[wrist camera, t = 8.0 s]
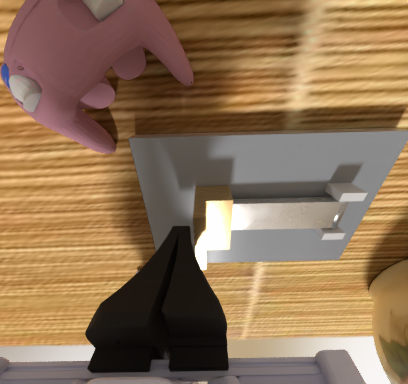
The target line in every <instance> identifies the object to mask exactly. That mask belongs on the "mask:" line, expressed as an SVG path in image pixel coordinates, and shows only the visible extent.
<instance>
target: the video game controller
mask: <svg viewBox="0 0 408 384" xmlns="http://www.w3.org/2000/svg"><path fill="white" fill-rule="evenodd" d="M144 48H146V49H148V50H149V51H150V52H152V53H153V54H154V55H155V56H156V57H157V58H158V59H159V60H160V61H161V62H162V63H163V64H164V66H165V67H166V68H167V69H168V70H169V71H170V72H171V74H172V75H173V76H174V77H175V78H176V79H177V80H178V81H180V82H181V83H182V84H184V85H186V86H191V85H193V82H194V76H193V71H192V68H191V65H190V63H189V60H188V58H187V56H186V54H185V51H184V49H183V47H182V45H181V43H180V41H179V39H178V37H177V35H176V33H175V31H174V29H173V27H172V26H171V24H170V23H169V21H168V19H167V18H166V16H165V15H164V13H163V11H162V10H161V9H160V7H159V6H158V4H157V3H156V1H155V0H26V1H25V2H24V4H23V5H22V7H21V8H20V9H19V11H18V13H17V15H16V17H15V19H14V21H13V23H12V25H11V27H10V30H9V34H8V37H7V41H6V45H5V49H4V62H3V63H2V66H1V69H0V74H1V78H2V80H3V82H4V84H5V86H6V87H7V89H8V90H9V92H10V93H11V95H12V96H13V98H14V100H15V101H16V103H17V104H18V105H19V106H20V107H21V108H22V109H23V110H24V111H25V112H26V113H28V114H29V115H30V116H31V117H32V118H34V119H35V120H36V121H37V122H39V123H41V124H42V125H44V126H46V127H48V128H50V129H52V130H54V131H56V132H58V133H60V134H62V135H64V136H66V137H68V138H70V139H72V140H74V141H76V142H78V143H80V144H82V145H84V146H86V147H88V148H90V149H92V150H95V151H97V152H101V153H106V154H110V153H113V152H115V150H116V145H115V142H114V140H113V139H112V137H111V136H110V135H109V133H108V132H107V131H106V130H105V129H104V128H103V127H102V126H100V125H99V124H98V123H97V122H96V121H95V120H94V119H93V118H91V117H90V116H89V115H88V114H86V113H85V112H84V111H83V110H82V109H84V108H95V109H100V108H105V107H107V106H109V105H110V104H111V103H112V102H113V101H114V99H115V91H114V90H113V88H112V86H111V84H110V83H109V81H108V79H107V78H106V76H105V74H106V72H107V71H108V70H109V69H110V67H112V69H113V71H114V72H115V73H116V75H117V76H119V77H120V78H122V79H125V80H131V79H134V78H136V77H138V76H139V75H141V74H142V73H143V71H144V70H145V67H146V58H145V54H144Z"/></svg>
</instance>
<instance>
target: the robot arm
mask: <svg viewBox="0 0 408 384" xmlns="http://www.w3.org/2000/svg"><path fill="white" fill-rule="evenodd" d="M226 333H227V322H226V318H225V315H224V312H223V309H222V307H221V305H220V302H219V300H218V298H217V296H216V295H215V293H214V292H213V290H212V289H211V287H210V285H209V283H208V282H207V280H206V278H205V276H204V274H203V272H202V270H201V268H200V265H199V263H198V261H197V258H196V255H195V252H194V249H193V246H192V242H191V231H190V226H173V227H172V228H171V230H170V232H169V234H168V235H167V237H166V238H165V240H164V241H163V243H162V244H161V246H160V247H159V249H158V250H157V251H156V252H155V254H154V255H153V256H152V257H151V259H150V260H149V261H148V262H147V263H146V264H145V265H144V267H143V268H142V269H141V270H139V271H137V273H136V275H135V276H134V277H133V278H131V279H130V280H129V281H128V282H127V283H126V284H125V285H124V286H122V287H121V288H120V289H119V290H118V291H116V292H115V293H114V294H112V295H111V296H110V297H109V298H107V299H106V300H105V301H103V302H102V303H101V304H100V306H99V307H98V309H97V311H96V312H95V314H94V316H93V318H92V320H91V322H90V324H89V326H88V328H87V330H86V333H85V335H86V337H87V339H88V340H89V341H90V343H91V344H92V345H93V346H94V347H95V348H96V349H95V351H94V354H93V356H92V358H91V360H90V361H61V362H9V360H7V359H5V358H3V357H0V384H199V383H198V382H199V381H208V384H366V383H365V382H364V380H363V378H362V376H361V375H360V373H359V371H358V369H357V368H356V366H355V364H354V362H353V361H352V359H351V357H350V355H349V354H348V352H347V351H345V350H323V351H319V352H318V353H317V354H316V356H315V357H283V358H281V357H280V358H228V353H227V338H226Z"/></svg>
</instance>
